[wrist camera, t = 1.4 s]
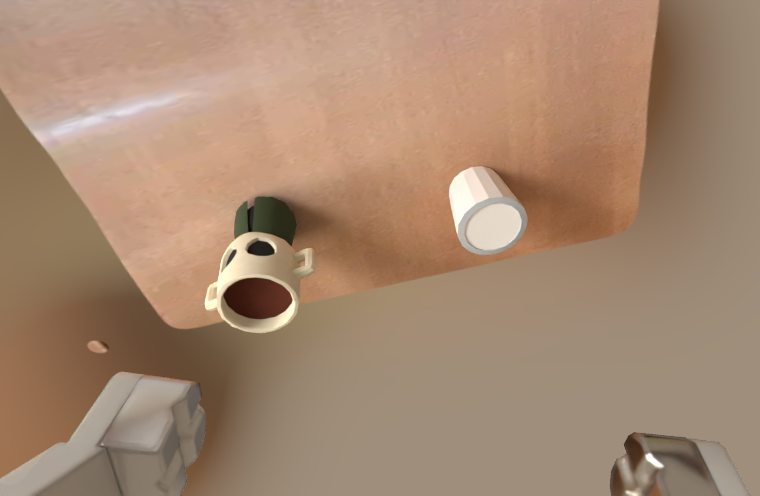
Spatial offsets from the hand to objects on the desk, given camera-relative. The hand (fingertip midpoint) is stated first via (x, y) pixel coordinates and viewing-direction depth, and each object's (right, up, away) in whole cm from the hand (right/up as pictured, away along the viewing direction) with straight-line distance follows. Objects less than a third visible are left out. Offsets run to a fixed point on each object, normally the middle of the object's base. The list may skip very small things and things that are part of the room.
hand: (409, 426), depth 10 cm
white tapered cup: (+10, +10, +47) cm, 49 cm away
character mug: (-12, +7, +46) cm, 48 cm away
